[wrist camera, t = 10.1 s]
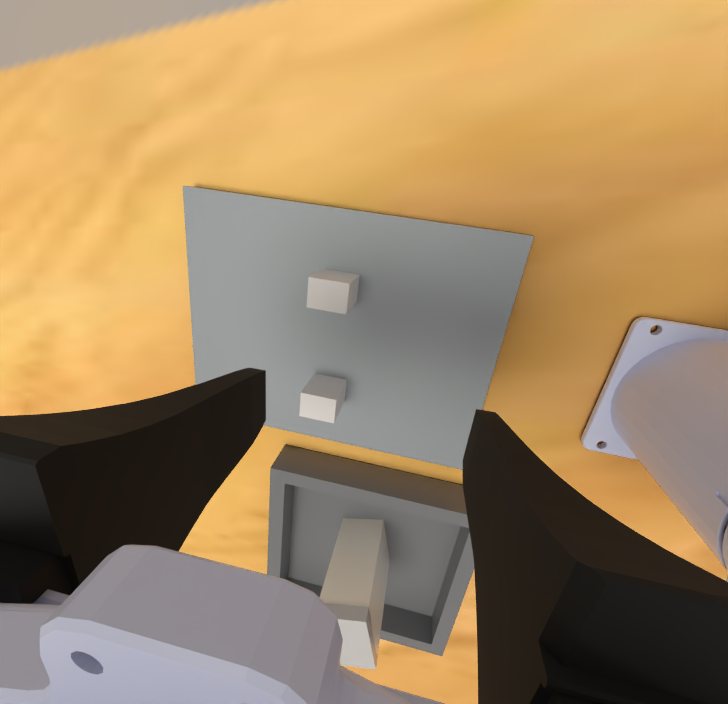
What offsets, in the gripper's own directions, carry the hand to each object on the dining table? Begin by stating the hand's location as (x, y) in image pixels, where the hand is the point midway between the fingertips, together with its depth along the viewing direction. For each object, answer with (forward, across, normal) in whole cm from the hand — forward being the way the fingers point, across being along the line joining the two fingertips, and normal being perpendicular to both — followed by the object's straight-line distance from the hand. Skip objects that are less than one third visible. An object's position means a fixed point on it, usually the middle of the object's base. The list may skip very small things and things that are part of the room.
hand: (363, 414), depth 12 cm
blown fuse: (+9, 0, +16) cm, 19 cm away
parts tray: (+10, 0, +17) cm, 19 cm away
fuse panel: (+10, +3, +1) cm, 10 cm away
